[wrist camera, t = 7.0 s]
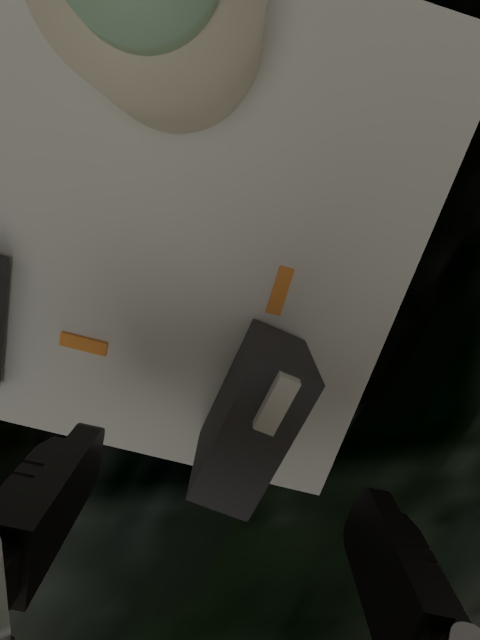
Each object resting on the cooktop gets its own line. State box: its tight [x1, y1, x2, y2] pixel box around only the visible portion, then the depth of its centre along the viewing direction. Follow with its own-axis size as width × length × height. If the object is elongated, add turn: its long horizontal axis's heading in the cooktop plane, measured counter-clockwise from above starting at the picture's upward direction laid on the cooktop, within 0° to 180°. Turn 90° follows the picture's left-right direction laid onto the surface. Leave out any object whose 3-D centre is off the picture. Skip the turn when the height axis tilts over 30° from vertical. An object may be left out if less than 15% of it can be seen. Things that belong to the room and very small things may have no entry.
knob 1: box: [186, 318, 325, 522], centre depth 13 cm, size 2×6×4 cm, turn 156°
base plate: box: [0, 0, 480, 495], centre depth 13 cm, size 20×22×7 cm
